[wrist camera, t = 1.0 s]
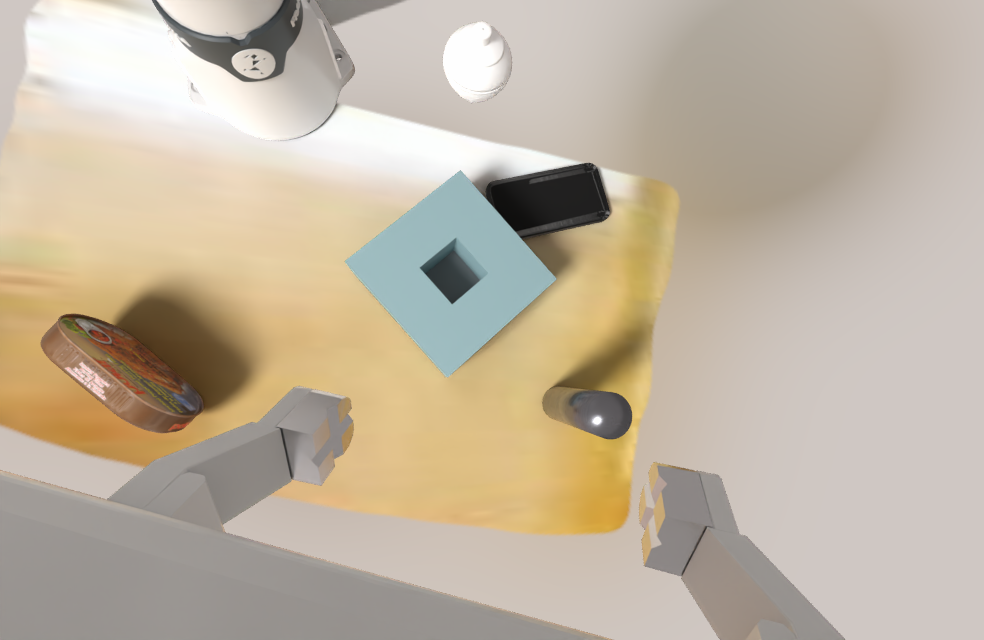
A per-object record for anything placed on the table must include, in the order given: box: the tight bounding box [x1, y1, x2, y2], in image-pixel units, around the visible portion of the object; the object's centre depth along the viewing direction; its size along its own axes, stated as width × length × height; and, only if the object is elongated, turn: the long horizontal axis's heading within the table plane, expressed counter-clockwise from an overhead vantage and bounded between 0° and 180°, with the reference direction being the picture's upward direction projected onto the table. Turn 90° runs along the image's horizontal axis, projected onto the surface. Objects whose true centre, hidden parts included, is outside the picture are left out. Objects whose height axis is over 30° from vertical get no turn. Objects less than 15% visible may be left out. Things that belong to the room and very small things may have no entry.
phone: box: [486, 163, 610, 239], centre depth 54 cm, size 8×1×15 cm
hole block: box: [345, 170, 556, 377], centre depth 49 cm, size 16×16×6 cm
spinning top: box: [443, 21, 512, 103], centre depth 49 cm, size 8×8×12 cm
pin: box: [542, 386, 632, 439], centre depth 44 cm, size 4×4×15 cm
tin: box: [41, 314, 204, 433], centre depth 42 cm, size 15×3×8 cm, turn 49°
